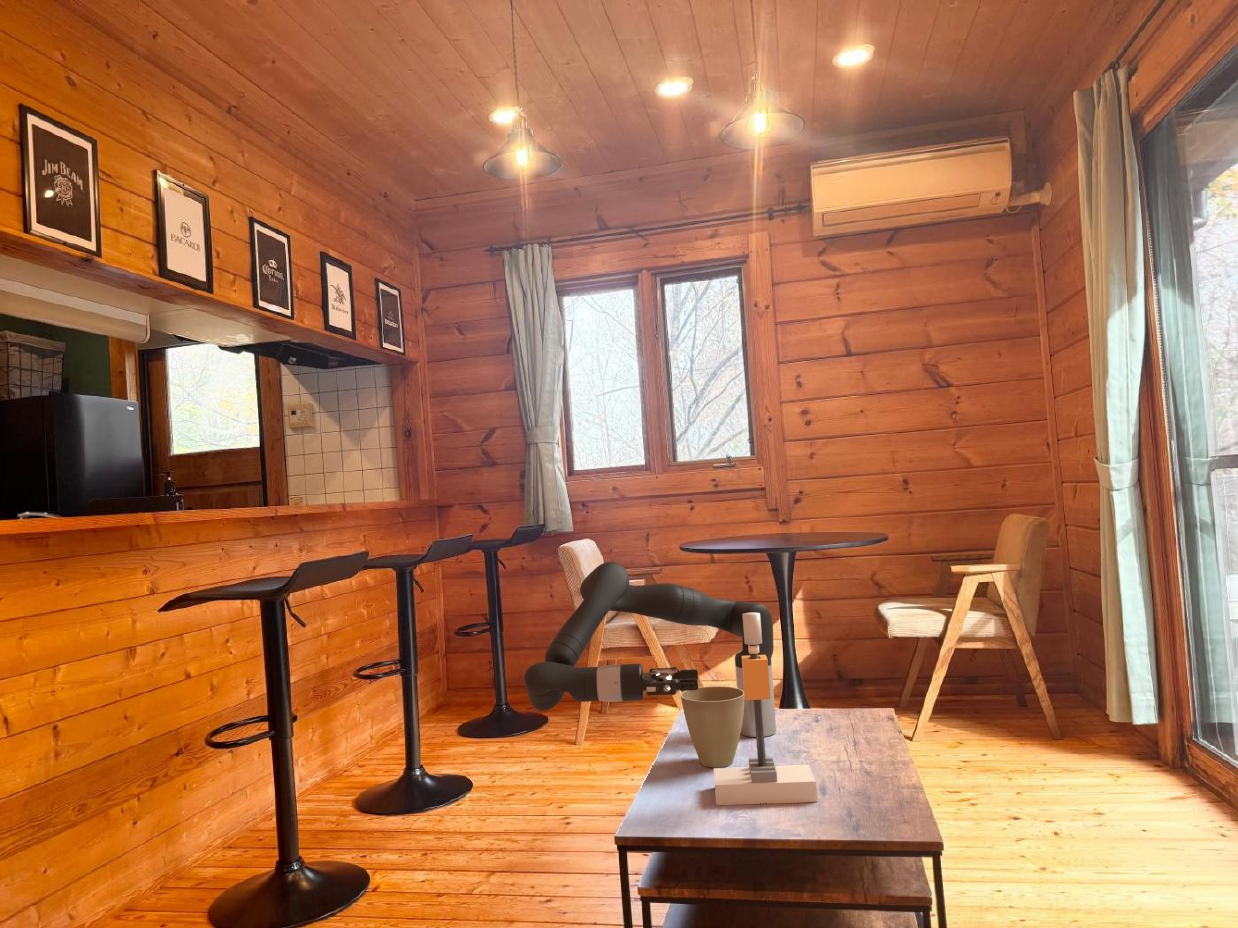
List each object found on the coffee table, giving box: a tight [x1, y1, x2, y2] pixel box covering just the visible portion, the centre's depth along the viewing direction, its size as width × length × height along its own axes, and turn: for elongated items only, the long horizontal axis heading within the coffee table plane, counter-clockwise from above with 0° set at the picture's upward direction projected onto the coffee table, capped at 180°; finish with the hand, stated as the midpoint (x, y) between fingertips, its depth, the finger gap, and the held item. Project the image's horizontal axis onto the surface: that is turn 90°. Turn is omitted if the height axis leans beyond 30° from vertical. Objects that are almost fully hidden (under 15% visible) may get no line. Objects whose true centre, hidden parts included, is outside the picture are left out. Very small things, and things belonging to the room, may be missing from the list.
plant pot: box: [680, 685, 745, 768], centre depth 194 cm, size 15×15×16 cm
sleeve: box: [742, 655, 771, 700], centre depth 173 cm, size 5×5×8 cm
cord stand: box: [713, 612, 818, 806], centre depth 173 cm, size 10×20×37 cm, turn 85°
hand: (697, 679), depth 174 cm, fingers open, 8 cm apart
